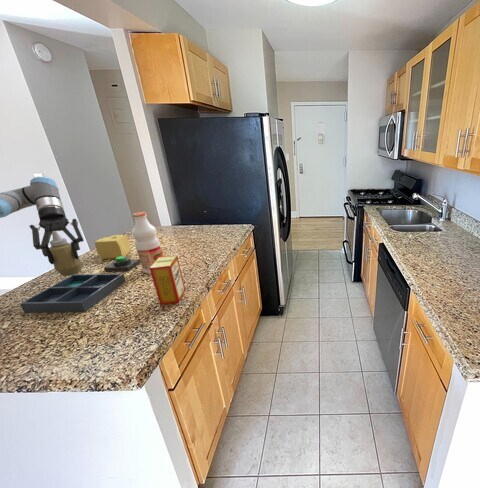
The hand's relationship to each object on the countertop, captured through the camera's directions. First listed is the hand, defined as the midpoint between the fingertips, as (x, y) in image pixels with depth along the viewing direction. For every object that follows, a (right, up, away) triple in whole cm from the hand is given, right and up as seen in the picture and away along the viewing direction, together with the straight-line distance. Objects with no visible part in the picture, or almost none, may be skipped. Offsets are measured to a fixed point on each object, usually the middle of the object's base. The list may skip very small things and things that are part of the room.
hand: (64, 259), depth 100 cm
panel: (+2, -5, +27) cm, 27 cm away
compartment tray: (+3, -15, +3) cm, 15 cm away
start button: (+2, -2, +25) cm, 25 cm away
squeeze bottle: (-2, -6, +5) cm, 8 cm away
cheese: (-12, 0, +40) cm, 42 cm away
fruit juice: (+19, -6, +24) cm, 32 cm away
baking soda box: (+41, -15, +2) cm, 44 cm away
